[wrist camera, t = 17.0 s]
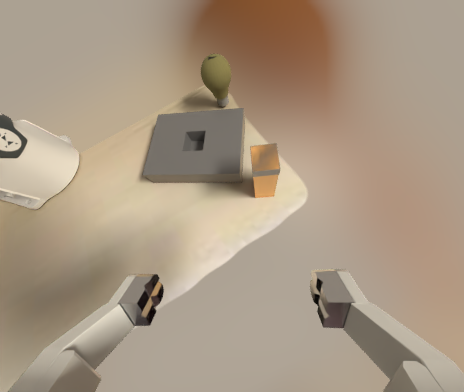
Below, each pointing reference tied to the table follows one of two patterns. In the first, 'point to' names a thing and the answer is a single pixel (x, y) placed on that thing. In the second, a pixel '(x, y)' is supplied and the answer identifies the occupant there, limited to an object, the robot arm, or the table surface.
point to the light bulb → (217, 77)
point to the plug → (265, 169)
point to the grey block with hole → (197, 147)
